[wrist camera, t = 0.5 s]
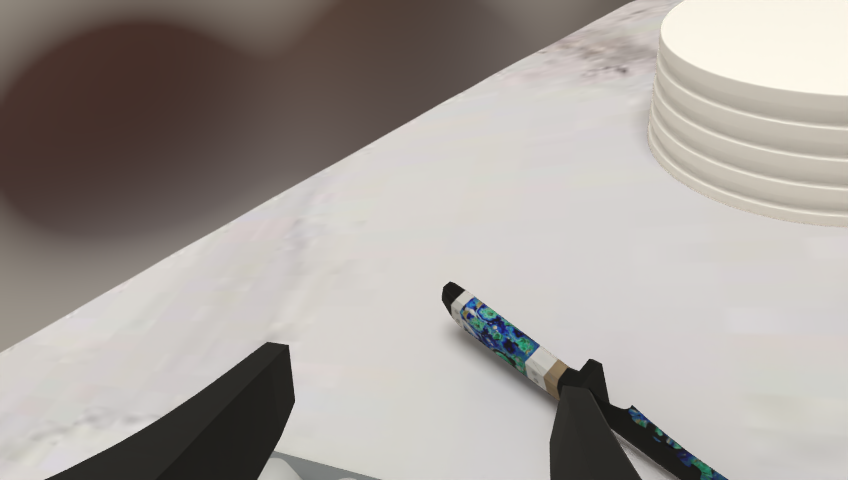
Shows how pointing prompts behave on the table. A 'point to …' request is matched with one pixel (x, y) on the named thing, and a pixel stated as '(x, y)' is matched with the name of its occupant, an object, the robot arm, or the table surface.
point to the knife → (570, 382)
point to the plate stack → (756, 105)
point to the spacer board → (304, 470)
